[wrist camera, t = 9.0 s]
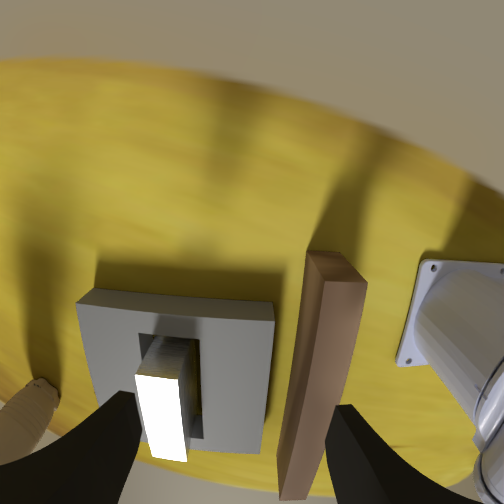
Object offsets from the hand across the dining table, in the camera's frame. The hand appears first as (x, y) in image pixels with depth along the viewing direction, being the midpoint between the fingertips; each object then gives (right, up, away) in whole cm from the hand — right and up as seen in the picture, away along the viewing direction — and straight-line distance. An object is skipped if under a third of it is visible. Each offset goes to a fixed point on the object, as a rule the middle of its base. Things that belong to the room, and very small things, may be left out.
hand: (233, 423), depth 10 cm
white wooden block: (-4, -2, +10) cm, 11 cm away
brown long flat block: (+4, -3, +10) cm, 12 cm away
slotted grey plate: (-4, -2, +10) cm, 11 cm away
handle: (-18, -6, +12) cm, 22 cm away
